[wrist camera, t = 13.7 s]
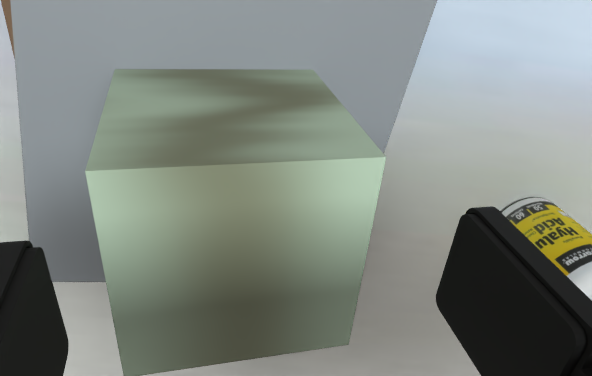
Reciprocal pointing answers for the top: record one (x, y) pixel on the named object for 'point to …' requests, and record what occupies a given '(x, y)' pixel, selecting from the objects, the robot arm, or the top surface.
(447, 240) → the top surface
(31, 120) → the tower top block
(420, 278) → the top surface
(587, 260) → the supplement bottle
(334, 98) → the sage cube
